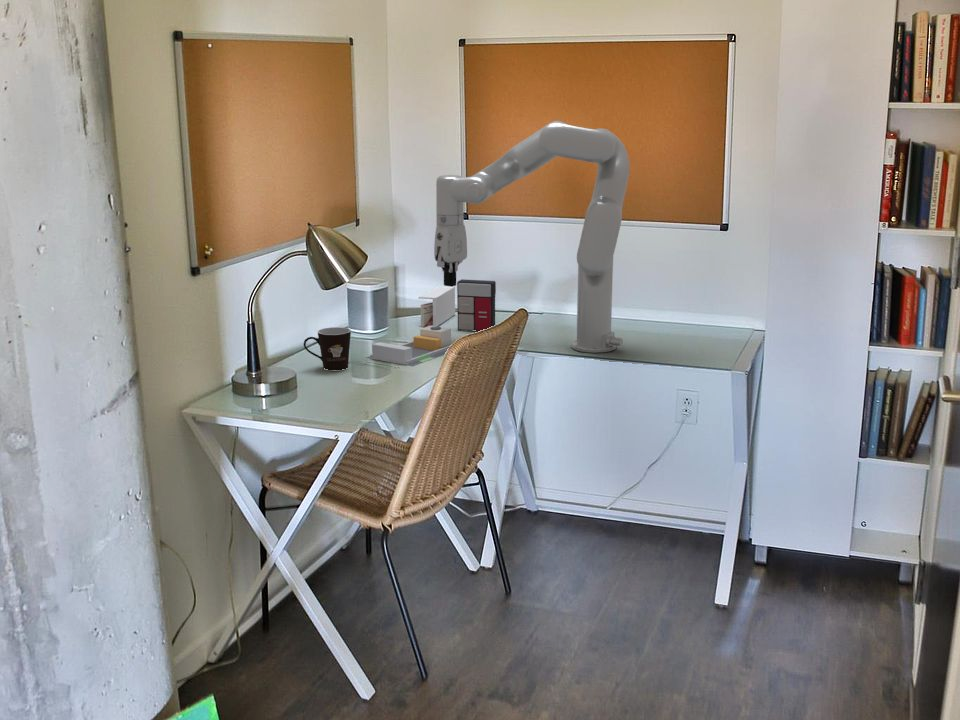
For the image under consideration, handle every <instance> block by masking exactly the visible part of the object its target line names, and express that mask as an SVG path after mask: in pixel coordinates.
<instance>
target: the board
mask: <svg viewBox="0 0 960 720" xmlns="http://www.w3.org/2000/svg"><path fill="white" fill-rule="evenodd" d="M371 344H372V345H371V351H372V352H371V354H369V356H366V357H365V359H369V360H373V361H374V360H376V361H381V362H387V363H393V364H397V365H398V364H399V365H404V366H409V367H415V366H417V365H421V364H423V363H426V362H428V361H431V360H435V359H436V358H440V357H442V356H445V355H444V354H445V352H446V351H447V349H448V348H449V346H450V345H448V346H445V347H442V348H441V349H438V350H435V351H433V350H427V349H420V348H414V340H411V341H409V342H408V341H407V342H405V343H403V344H399V345H398V344H394V343H393V344H392V343H386V342H380V341H379V342H375V343H371ZM367 363H370V364H371V361H370V362H369V361H367ZM373 364H375V365H377V363H376V362H375V363H374V362H373ZM379 365H381V366H382V364H380V363H378V366H379ZM384 366H386V367H388V365H387V364H384ZM389 367H392V368H394V366H393V365H389ZM396 367H397V366H396ZM397 368H399V367H397ZM397 368H396V369H397Z"/></svg>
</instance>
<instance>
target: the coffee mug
mask: <svg viewBox="0 0 960 720" xmlns="http://www.w3.org/2000/svg"><path fill="white" fill-rule="evenodd" d="M351 335H352V330H351V329H350V328H348V327H342V326H341V327H340V326H339V327H338V326H335V327H334V326H332V327H325V328H321V329H318V330H317V337H314V336H309V337H307V338H305V339H304V340H303V347H304V349H305V351H307V352H308V353H309V354H311V355H313V356H315V357H316V358H318V359H320V361H322V362H321V363H322V366H323V367H322V368H323V369H324V368H325V369H328V370H342V369H346V368H349V359H350V349H351V347H350V346H351V345H350V344H351ZM309 340H314V341H316V342H317V344H318V345H319V347H320V348H319V349H320V355H319V354H316V353H314V352H312V351H311V350H310V349H308V347H307V346H306V344H307V342H308V341H309ZM346 370H347V369H346ZM342 371H343V370H342Z"/></svg>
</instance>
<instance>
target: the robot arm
mask: <svg viewBox="0 0 960 720" xmlns="http://www.w3.org/2000/svg"><path fill="white" fill-rule="evenodd" d="M557 157H561V158H565V159H571V160H576V161H582V162H585V163H586V162H587V163H592V164H597V171H596V172H597V173H596V178H595V181H594V182H595V183H594V188H593V193H592V196H591V199H590V203H589V204H588V207H587V209H586V212H585V216H584V217H585V218H584V222H583V226H582V230H581V234H580V240H579V245H578V249H577V252H576V263H577V297H576V299H577V302H576V303H577V304H576V305H577V306H576V309H577V310H576V339H575V340H574V341H571V344H570V347H571V349H572V350H574V351H578V352H582V353H590V354H591V353H594V354H595V353H607V352H612V351H614V350H616V348H617V347H622V346H623V345H624V339H623V338H622V337H616V336H615V334H616V333H615V331H612V315H613V314H612V311H613V310H612V309H613V306H612V305H613V277H614V276H613V273H614V254H615V251H616V246H617V242H618V237H619V234H620V229H621V225H622V220H623V219H622V218H623V206H624V200H625V196H626V192H627V186H628V181H629V175H630V159H629V158H630V157H629V154H628V151H627V149H626V147H625V145H624V144H623V142H622V140H620V138H619V137H618V136H617V135H616V134H614V133H613V132H612V131H610V130H608V129H606V128H601V127H599V128H595V129H593V128H587V127H582V126H576V125H571V124H567V123H566V122H563V121H561V120H554V121H551V122H550V123H548V124H546V125H545V126H543V127H541V128H540V129H538V130H537V131H536V132H534V133H532V134H531V135H530V136H528V137H527V138H525V139H524V140H523V139H522V141H520V142H519V143H517V144H516V145H514V146H512V147H511V148H510V149H508V150H507V151H506V152H505V153H504V154H503V155H502V156H500V157H499V158H498V159H496V160H495V161H494V162H492V163H491V164H489V165H487V166H486V167H484V168H483V169H481V170H480V171H478V172H476V173H475V174H473V175H471V176H467V177H465V176H464V177H463V176H460V175H455V174H445V175H444V174H443V175H439V176H438V177H437V179H436V182H435V183H436V184H435V187H436V190H435V191H436V195H435V197H436V199H435V200H436V204H435V205H436V215H435V217H436V219H435V220H436V222H435V223H436V226H435V233H434V247H433V248H434V250H433V253H434V254H433V255H434V260H435V261H436V262H437V263H436V267H437V268H441V271H442V272H443V286H449V287H456V286H457V272H458V270H459V269H458V268H459V265H460V264H461V263H463V261H465V260H466V259H467V258H468V241H467V230H466V226H465V223H464V215H465V214H464V213H465V212H464V211H465V210H464V207H465V204H464V203H466V204H467V203H468V204H472V205H478V204H481V203H484V202H485V201H487V199H489V198H490V197H492V196H493V195H495V194H496V193H497V192H499V191H501V190H502V189H504V188H505V187H507V186H509V185H511V184H513V183H514V182H516V181H518V180H520V179H522V178H525V177H527V176H528V175H531V174H532V173H533V172H536V170H538V169H540V168H542V167H543V166H544V165H546V164H547V163H549V162H551V161H553V160H554V159H555V158H557Z"/></svg>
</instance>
